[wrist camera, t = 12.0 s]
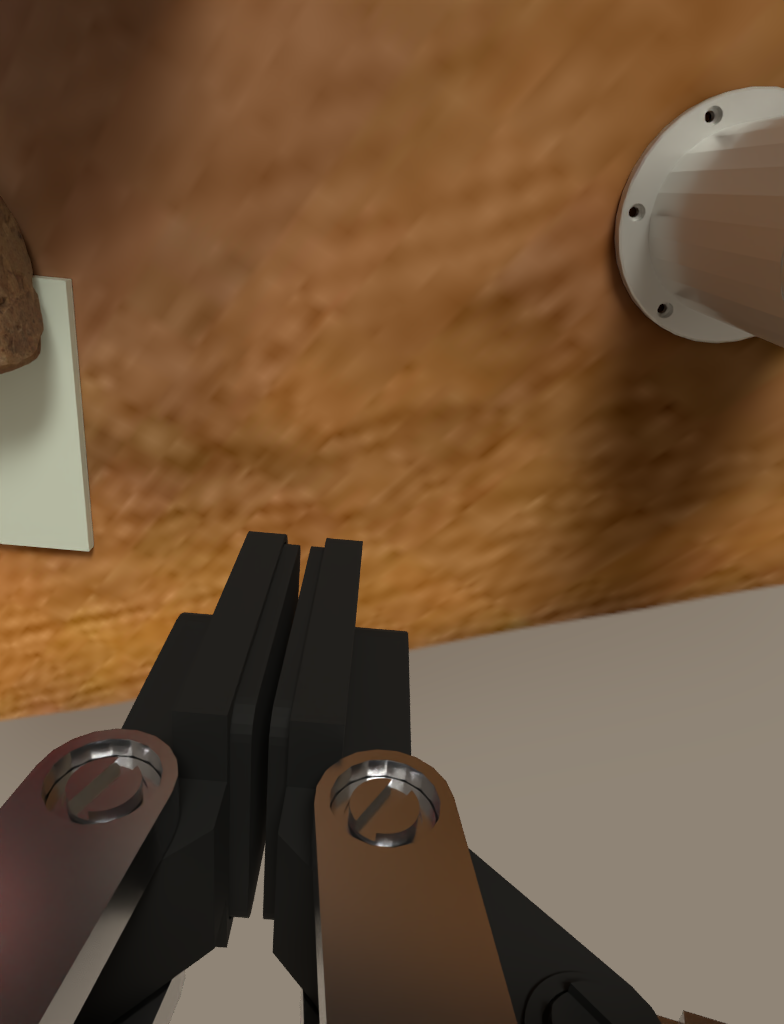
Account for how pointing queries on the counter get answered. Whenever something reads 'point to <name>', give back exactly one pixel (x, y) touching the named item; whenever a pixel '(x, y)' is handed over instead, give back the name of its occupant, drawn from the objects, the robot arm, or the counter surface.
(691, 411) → the counter surface
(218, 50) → the counter surface
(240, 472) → the counter surface
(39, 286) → the cutting board
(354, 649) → the robot arm
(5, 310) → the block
